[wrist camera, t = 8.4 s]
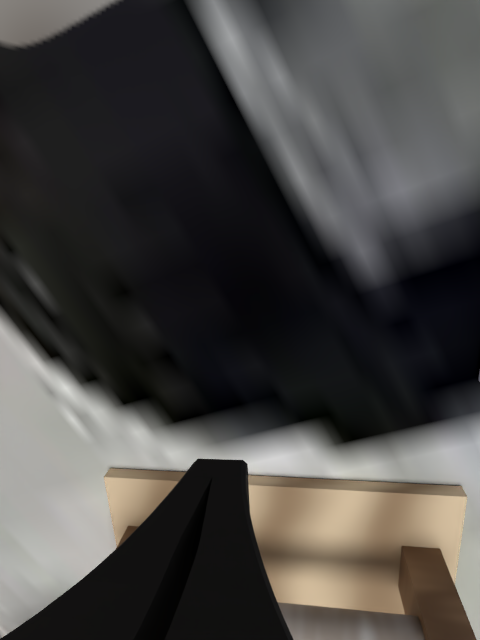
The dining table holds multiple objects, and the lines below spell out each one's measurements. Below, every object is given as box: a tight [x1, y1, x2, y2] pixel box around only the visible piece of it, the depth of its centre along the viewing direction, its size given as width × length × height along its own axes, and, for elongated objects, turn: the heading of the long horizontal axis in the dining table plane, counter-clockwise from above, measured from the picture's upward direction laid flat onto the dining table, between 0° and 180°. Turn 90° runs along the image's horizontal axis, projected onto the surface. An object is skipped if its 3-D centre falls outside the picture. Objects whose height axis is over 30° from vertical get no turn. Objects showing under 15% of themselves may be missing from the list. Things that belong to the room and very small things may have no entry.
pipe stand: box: [104, 468, 476, 640], centre depth 21 cm, size 20×10×6 cm, turn 93°
